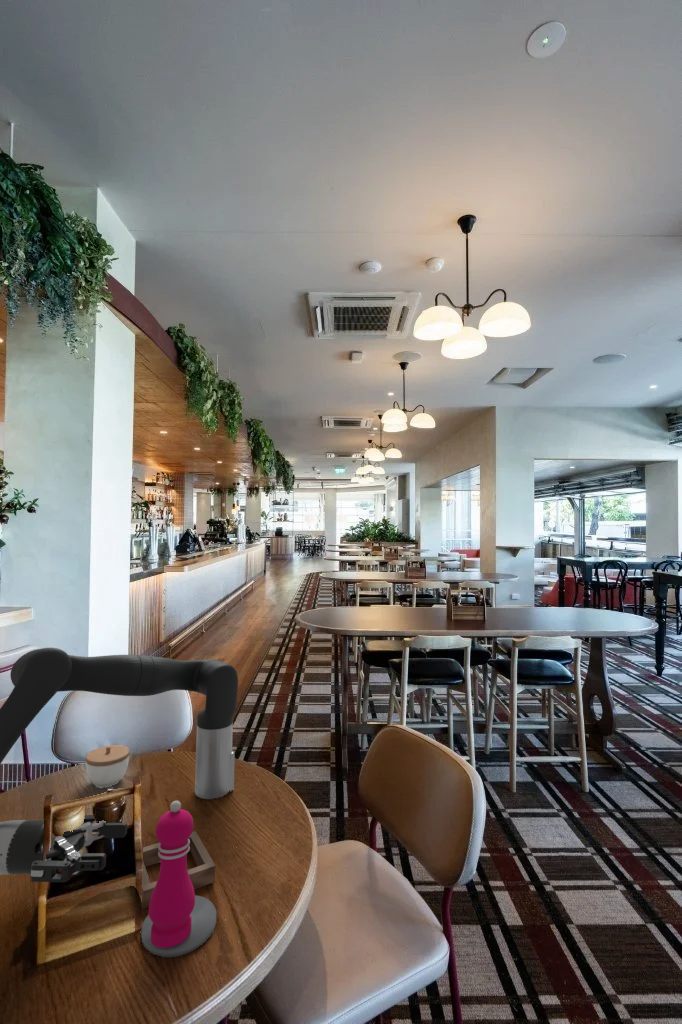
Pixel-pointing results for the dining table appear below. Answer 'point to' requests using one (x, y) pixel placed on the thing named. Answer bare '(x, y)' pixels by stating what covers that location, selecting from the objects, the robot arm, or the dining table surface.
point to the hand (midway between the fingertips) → (116, 844)
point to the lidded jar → (107, 765)
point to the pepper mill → (172, 880)
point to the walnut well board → (197, 875)
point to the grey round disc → (199, 934)
